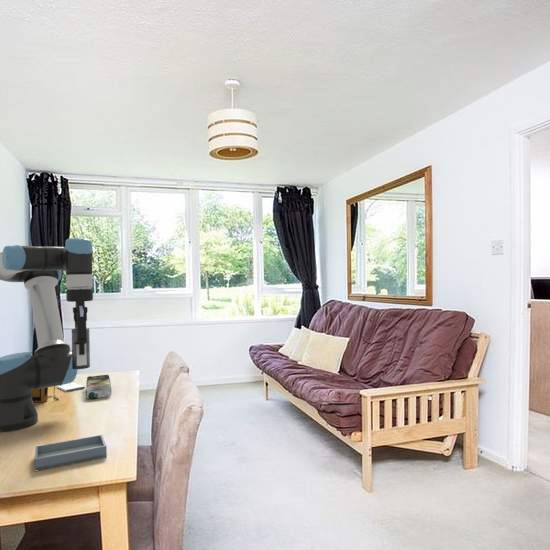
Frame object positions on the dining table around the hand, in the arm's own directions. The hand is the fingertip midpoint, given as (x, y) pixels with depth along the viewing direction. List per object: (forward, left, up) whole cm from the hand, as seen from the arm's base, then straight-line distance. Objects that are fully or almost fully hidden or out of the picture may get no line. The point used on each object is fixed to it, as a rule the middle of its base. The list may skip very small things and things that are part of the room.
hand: (81, 363), depth 135 cm
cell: (0, 0, -1) cm, 1 cm away
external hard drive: (-70, 0, -23) cm, 73 cm away
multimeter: (-55, -11, -23) cm, 60 cm away
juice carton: (-54, +10, -23) cm, 59 cm away
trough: (+16, -4, -22) cm, 28 cm away
